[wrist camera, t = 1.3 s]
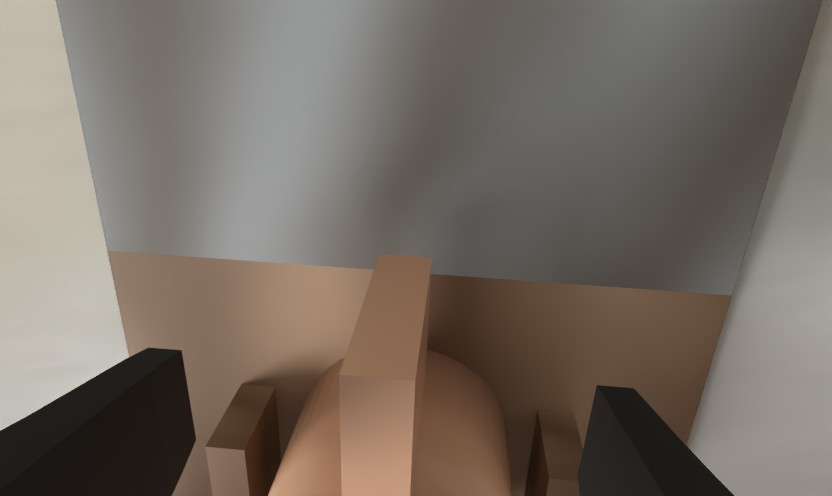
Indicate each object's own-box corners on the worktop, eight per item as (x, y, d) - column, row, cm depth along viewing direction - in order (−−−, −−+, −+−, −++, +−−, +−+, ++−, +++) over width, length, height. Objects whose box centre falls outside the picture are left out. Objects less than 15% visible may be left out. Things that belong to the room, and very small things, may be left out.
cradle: (174, 500, 20) (121, 591, 17) (37, -212, 12) (-112, -282, 9) (641, 547, 19) (673, 651, 16) (856, -195, 11) (1010, -268, 8)
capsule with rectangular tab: (307, 496, 18) (237, 713, 13) (291, 226, 14) (182, 371, 9) (496, 514, 18) (508, 746, 12) (532, 242, 14) (574, 404, 8)
